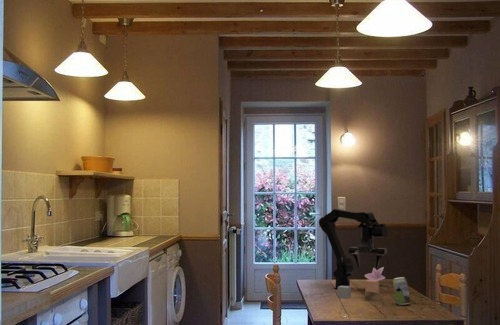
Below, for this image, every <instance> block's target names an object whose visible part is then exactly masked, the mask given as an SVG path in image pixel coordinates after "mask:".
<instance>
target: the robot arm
mask: <svg viewBox="0 0 500 325" xmlns="http://www.w3.org/2000/svg"><path fill="white" fill-rule="evenodd" d="M339 218H344V219H349V220H355V221H356V222H358V223H359V224H358V226H357V228H359V229H360V228H361V232H360V233H361V238H360V243H359V244H358V246H350V247H348V249H347V253H348V254H350V255H351V256H353V258H354V260H355V262H356V264H357V267H358V268H360V267H361V257H360V254H361V253H365V254H367V253H371V254H372V253H373V254H374V253H375V254H376V255H375V257H376V260H375V269H379V268H378V267H379V265H380V262H381V261H382V258H383V257H384V256H385V255H387V254H388V249H387V248H386V247H377V248H375V247H374V238H382V239H383V238H385V239H386V238H387V236H388V234H389V231H388V228H387V226H386V224H385V223H379V222H378V220H377V219H376V218H375V215H374V213H373V212H372V211H362V212H361V211H359V212H357V211H351V210H345V209H341V208H334V209H332V210H331V211H330V212H328V213H327V214H325V215H324V216H322V217H320V219H319V221H318V225H319V227H320V229H321V230H322V231H323V232H324V234H325V235H326V237H327V239H328V241H329V244H330V246H331V249H332V252H333V254H334V256H335V258H336V259H335V260H336V262H335V266H336V269H335V271H333V277H334V278H335V287H334V289H335V290H338V287H339V286H351V280H350V277H351V276H352V273H353V271H354V263H353V261H352V258H351V257H347V256H346V254H345V252H344V250H343V247H342V244H341V242H340V240H339V238H338V235H337V232H336V222H337V221H338V220H339Z"/></svg>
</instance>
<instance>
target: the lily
mask: <svg viewBox="0 0 500 325" xmlns="http://www.w3.org/2000/svg"><path fill="white" fill-rule="evenodd" d="M384 268H385V266H383V267H380V268H376V267H373V268H372V272H370V273H366V274H365V275H364V277H365V278H366V279H367V280H379V284H381V283H380V282H381V281H380V280H384V279H386V276H384V275H382V273H383V271H384Z"/></svg>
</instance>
